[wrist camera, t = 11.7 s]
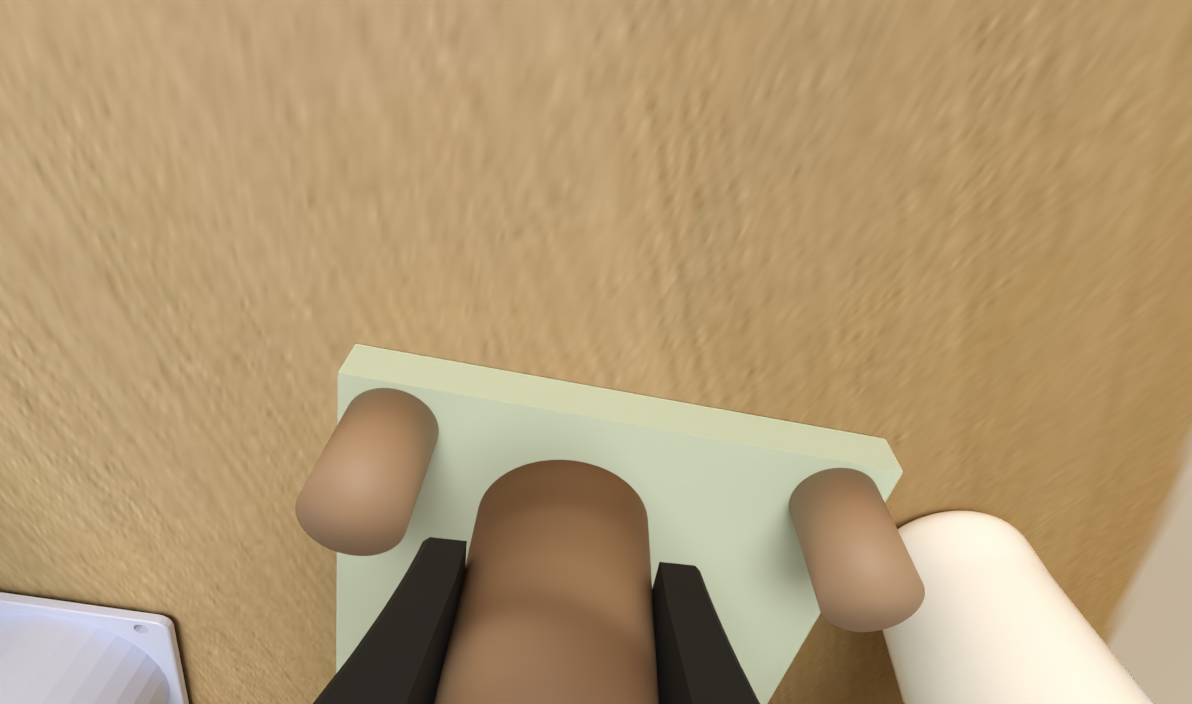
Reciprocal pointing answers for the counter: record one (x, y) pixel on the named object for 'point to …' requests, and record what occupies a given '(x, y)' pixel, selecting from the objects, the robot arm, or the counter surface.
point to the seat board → (641, 458)
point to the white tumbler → (996, 624)
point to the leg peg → (555, 594)
